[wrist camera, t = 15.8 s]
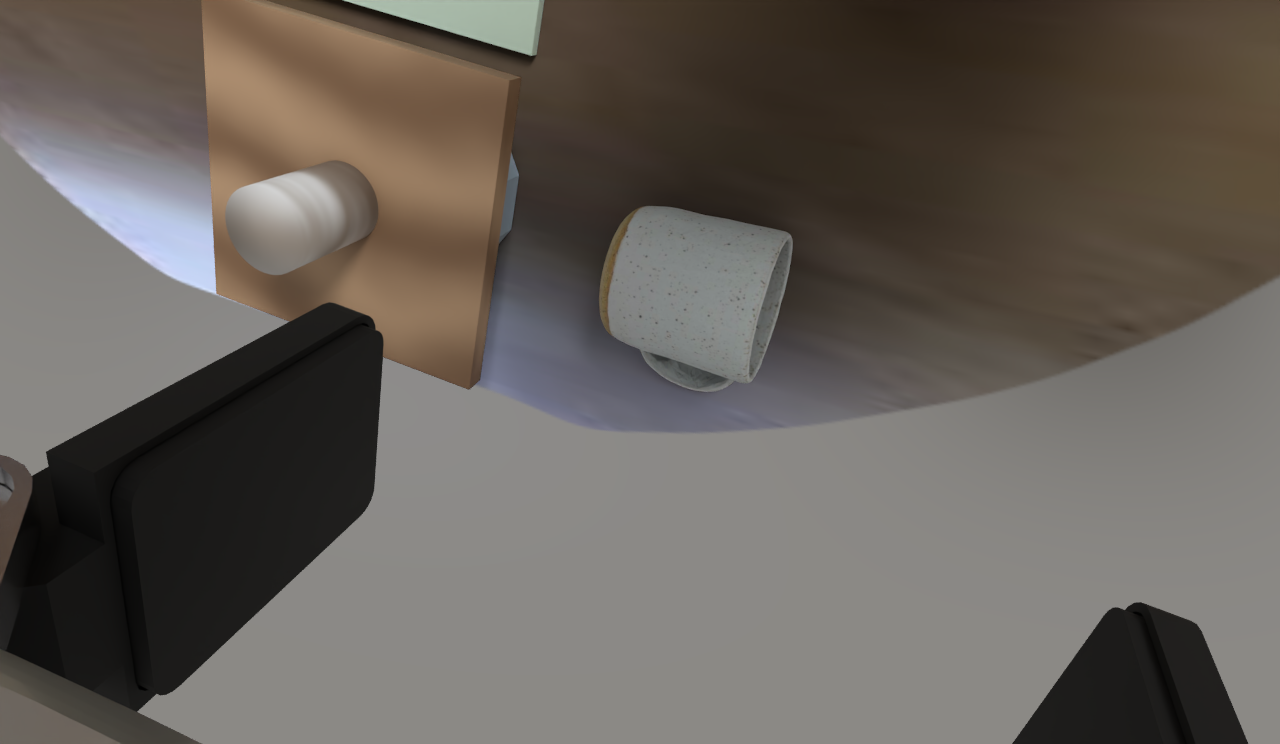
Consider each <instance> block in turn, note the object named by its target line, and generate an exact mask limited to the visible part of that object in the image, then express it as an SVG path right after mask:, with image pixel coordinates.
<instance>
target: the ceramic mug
mask: <svg viewBox="0 0 1280 744" xmlns="http://www.w3.org/2000/svg"><path fill="white" fill-rule="evenodd" d="M792 250H793V239H792V237H791V234H789V233H788V232H785V231H781V230H777V229H772V228H767V227H762V226H757V225H752V224H747V223H743V222H739V221H734V220H730V219H725V218H719V217H713V216H708V215H703V214H699V213H695V212H691V211H687V210H683V209H679V208H673V207H665V206H644V207H640V208H638V209H636V210H634V211H633V212H632V213H630V214H629V215H628V216H627V217H626V218H625V219H624V220H623V222H622V223H621V224H620V226H619V228H618V229H617V231H616V233H615V235H614V237H613V239H612V242H611V244H610V247H609V250H608V253H607V256H606V259H605V263H604V267H603V272H602V277H601V282H600V292H599V308H600V316H601V320H602V322H603V325H604V327H605V329H606V330H607V332H608V333H609V334H610V335H612V336H613V337H615V338H617V339H618V340H620V341H622V342H624V343H626V344H628V345H630V346H633V347H635V348H638V349H640V351H641V353H642V355H643V358H644V360H645V361H646V363H647V364H648V365H649V366H650V367H651V368H652V369H653V370H654V371H656V372H657V373H658V374H659V375H660V376H662V377H664V378H665V379H667V380H669V381H670V382H672V383H675V384H677V385H679V386H682V387H684V388H687V389H691V390H694V391H701V392H715V391H719V390H722V389H724V388H726V387H727V386H729V385H731V384H732V383H733V382H734V381H737V382H740V383H750V382H751V381H753V379H754V377H755V376H756V374H757V372H758V370H759V368H760V366H761V363H762V360H763V358H764V355H765V353H766V350H767V347H768V344H769V342H770V339H771V336H772V332H773V330H774V327H775V324H776V320H777V317H778V314H779V309H780V305H781V301H782V298H783V295H784V292H785V287H786V283H787V278H788V274H789V271H790V264H791V255H792Z"/></svg>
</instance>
